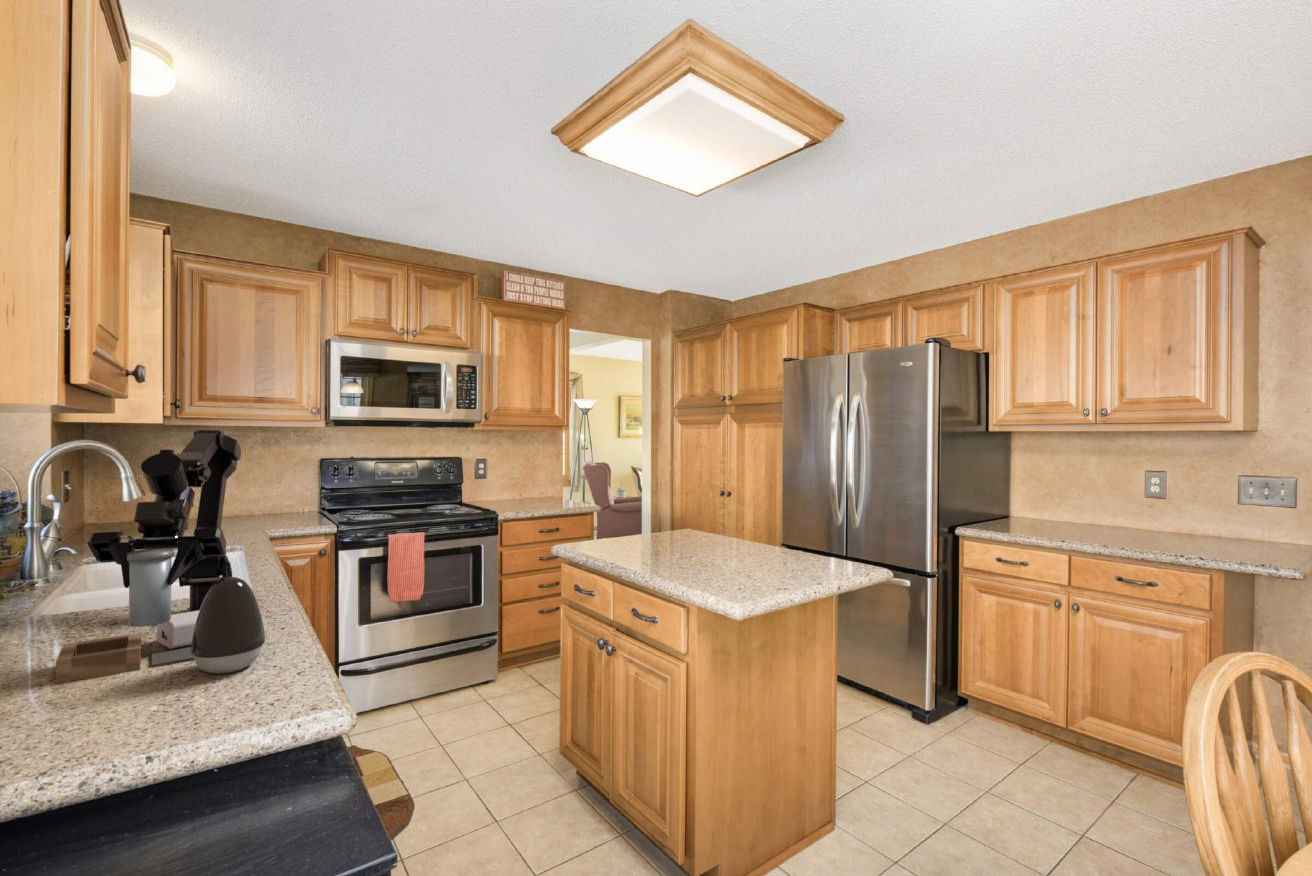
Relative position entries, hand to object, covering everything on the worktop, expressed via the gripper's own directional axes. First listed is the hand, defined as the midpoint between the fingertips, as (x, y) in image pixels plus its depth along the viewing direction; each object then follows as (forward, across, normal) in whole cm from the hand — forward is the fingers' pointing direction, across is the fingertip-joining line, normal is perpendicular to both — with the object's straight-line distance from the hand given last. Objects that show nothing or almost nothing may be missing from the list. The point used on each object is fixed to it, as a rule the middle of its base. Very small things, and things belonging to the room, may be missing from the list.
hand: (147, 585), depth 104 cm
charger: (+1, +6, +18) cm, 19 cm away
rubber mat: (+8, +4, +11) cm, 14 cm away
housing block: (+9, -6, +10) cm, 15 cm away
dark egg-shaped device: (+15, +13, +4) cm, 20 cm away
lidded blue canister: (+4, 0, +6) cm, 7 cm away
